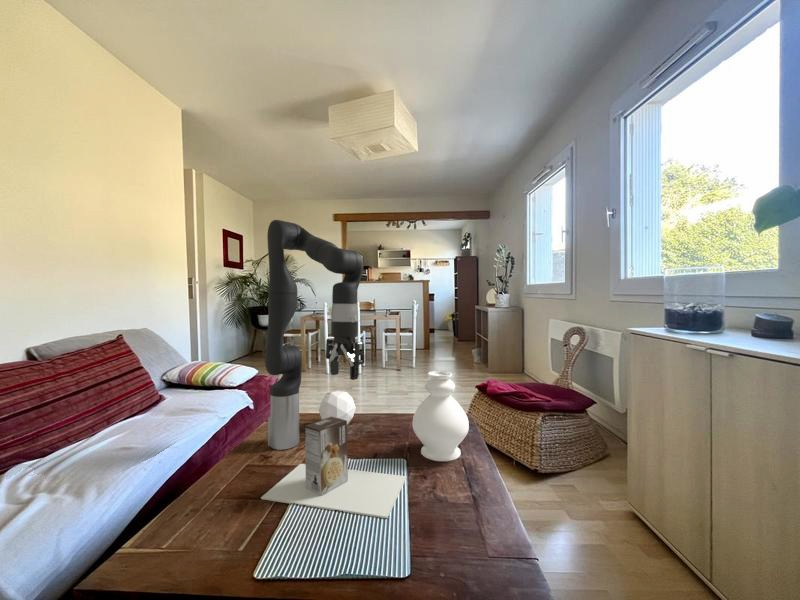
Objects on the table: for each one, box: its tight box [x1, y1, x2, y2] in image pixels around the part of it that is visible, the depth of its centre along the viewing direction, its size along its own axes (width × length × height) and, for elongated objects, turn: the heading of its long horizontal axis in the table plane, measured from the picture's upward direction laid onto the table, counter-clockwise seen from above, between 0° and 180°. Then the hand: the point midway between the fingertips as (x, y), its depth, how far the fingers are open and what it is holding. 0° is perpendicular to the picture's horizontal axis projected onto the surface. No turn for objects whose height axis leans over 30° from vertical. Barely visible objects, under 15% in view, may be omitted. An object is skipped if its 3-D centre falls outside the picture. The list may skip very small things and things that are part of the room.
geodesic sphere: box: [318, 389, 357, 426], centre depth 131 cm, size 15×14×14 cm
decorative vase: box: [411, 370, 470, 462], centre depth 107 cm, size 18×18×25 cm
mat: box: [260, 463, 407, 519], centre depth 86 cm, size 32×18×1 cm, turn 76°
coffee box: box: [304, 417, 349, 496], centre depth 87 cm, size 9×6×16 cm
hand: (344, 376), depth 95 cm, fingers open, 8 cm apart
